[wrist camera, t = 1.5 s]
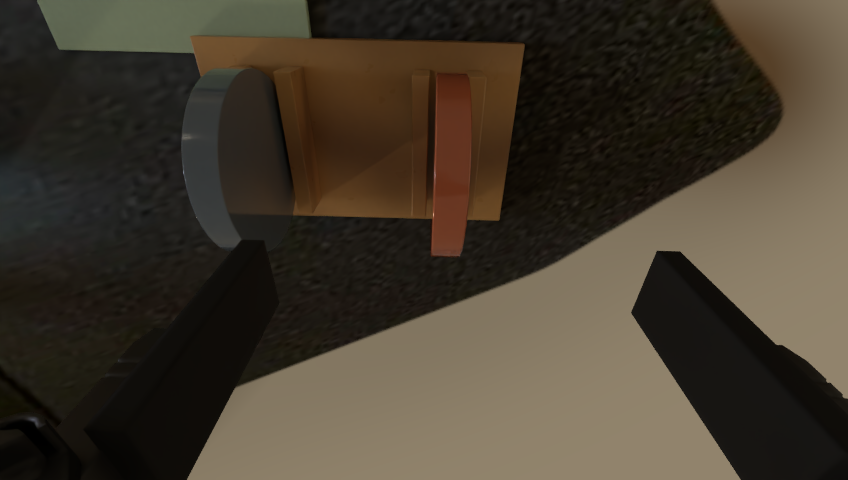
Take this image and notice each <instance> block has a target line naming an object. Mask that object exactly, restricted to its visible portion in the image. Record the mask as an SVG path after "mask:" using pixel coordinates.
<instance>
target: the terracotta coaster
mask: <svg viewBox="0 0 848 480" xmlns="http://www.w3.org/2000/svg"><path fill="white" fill-rule="evenodd" d="M471 155H472V99H471V86H470V79H469V76H468V73H466V72H445V71H437V72H436V75H435V91H434V115H433V144H432V178H431V221H430V255H431V256H432V257H459V256H460V255H461V252H462V249H463V244H464V239H465V232H466V225H467V216H468V205H469V193H470V178H471Z"/></svg>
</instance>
